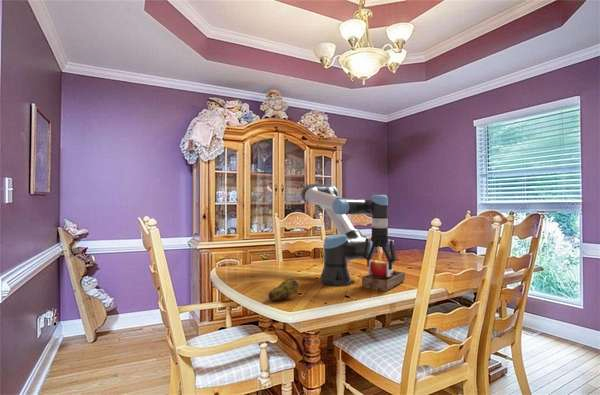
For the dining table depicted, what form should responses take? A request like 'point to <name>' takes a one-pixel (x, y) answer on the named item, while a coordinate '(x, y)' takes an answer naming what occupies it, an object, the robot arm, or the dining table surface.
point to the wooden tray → (383, 281)
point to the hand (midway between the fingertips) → (379, 275)
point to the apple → (378, 268)
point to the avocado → (284, 290)
